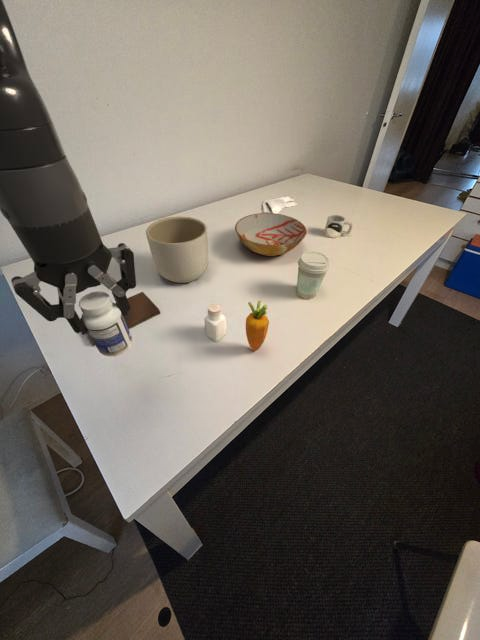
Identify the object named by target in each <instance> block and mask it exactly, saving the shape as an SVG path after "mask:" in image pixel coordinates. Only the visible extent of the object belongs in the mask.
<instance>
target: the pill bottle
mask: <svg viewBox="0 0 480 640" xmlns="http://www.w3.org/2000/svg"><path fill="white" fill-rule="evenodd" d="M115 303H116V302H113V301H112V299H111V296H110V295H109V294H108V293H107V292H105V291H102V290H101V291H100V290H97V291H92V292H89V293H86V294H85V295H84V296H82V297H81V298H80V299H79V300H78V306H79V309H80V310H81V312H82V313H81V316H80V318H81V321H82V323H83V325H84V327H85V328H86V330H87V332H88V334H89V335H90V337H91V339H92V341H93V342H94V344H95V346H94V347H96V349H97V350H98V352H99V353H100V354H101V355H103V356H105V357H118V356H120V355H122V354H124V353H125V352H127V351H128V350H129V349H130V347H131V345H132V344H133V336H132V334H131V331H130V329H128V326H127V324H126V322H125V319H124V317H123V314H122V312H121V310H120V308H119V306H118V305H117V304H115Z"/></svg>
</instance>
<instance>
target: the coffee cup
mask: <svg viewBox="0 0 480 640" xmlns="http://www.w3.org/2000/svg"><path fill="white" fill-rule="evenodd" d="M297 265H298V267H297V282H296V295H297V296H298V297H300V298H302V299H304V300H311V299H312V300H313V299H314V298H315V297H316V296H317V294H318V291H319V289H320V287H321V285H322V283H323V281H324V278H325V276H326V273H327V272H328V271H329V269H330V258H329V257H328V256H327V255H326V254H324V253H322V252H319V251H306V252H304V253H301V255H300V257H299V258H298V261H297Z"/></svg>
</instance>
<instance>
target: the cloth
mask: <svg viewBox="0 0 480 640" xmlns="http://www.w3.org/2000/svg"><path fill="white" fill-rule="evenodd" d="M294 200H295V199H294V198H291V197H290V196H282V197H277V198H271V199H265V200H263V201H262V202H263V203H262V210H263V213H274V214H280V212H281V211H282V210H283V209H285V208H291V207H295V206H297V205H298V203H296V202H294Z"/></svg>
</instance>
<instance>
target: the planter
mask: <svg viewBox="0 0 480 640" xmlns="http://www.w3.org/2000/svg"><path fill="white" fill-rule="evenodd" d="M145 236H146V239H147V243H148V247H149V251H150V253H151V257H152V260H153V263H154V265H155V268H156V270H157V272H158V273H159V274H160V276H161V277H163V278H164V279H166V280H168V281H170V282H173V283H178V284H184V283H189V282H192V281H195V280H197V279H198V278H200V277H201V276H202V275H203V274H204V273H205V272H206V270H207V267H208V264H209V263H208V262H209V244H208V227H207V224H206V223H204V222H203V221H202V220H200V219H198V218H195V217H190V216H170V217H165V218H161V219H159V220H156V221H154V222H153V223H151V224H149V225H148V226H147V227H146V231H145Z"/></svg>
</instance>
